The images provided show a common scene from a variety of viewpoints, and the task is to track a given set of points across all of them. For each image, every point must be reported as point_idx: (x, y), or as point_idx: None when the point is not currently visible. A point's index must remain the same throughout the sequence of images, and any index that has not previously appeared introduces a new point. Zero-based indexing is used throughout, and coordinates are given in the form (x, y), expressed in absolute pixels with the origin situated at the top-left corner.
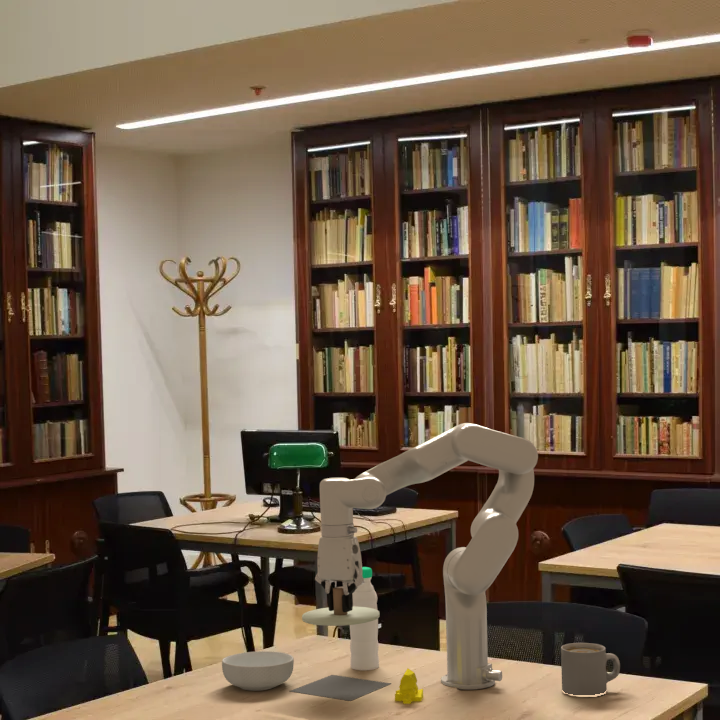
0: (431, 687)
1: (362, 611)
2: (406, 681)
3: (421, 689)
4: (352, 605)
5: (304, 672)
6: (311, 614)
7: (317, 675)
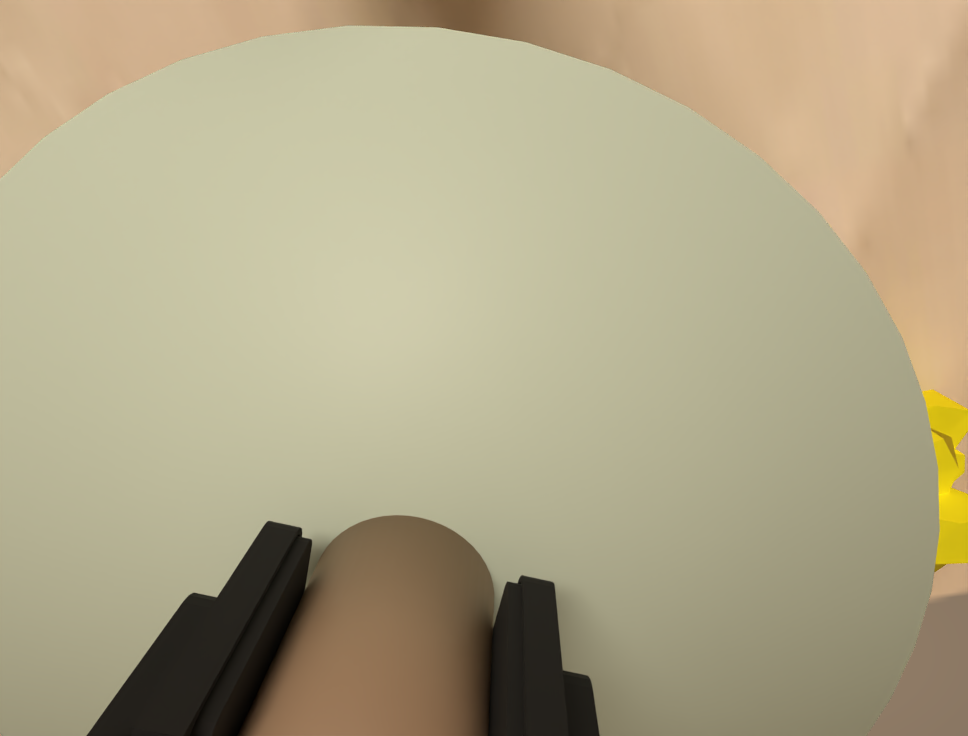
0: (954, 140)
1: (648, 404)
2: (935, 568)
3: (963, 427)
4: (587, 690)
5: (53, 5)
6: (54, 657)
7: (173, 58)
